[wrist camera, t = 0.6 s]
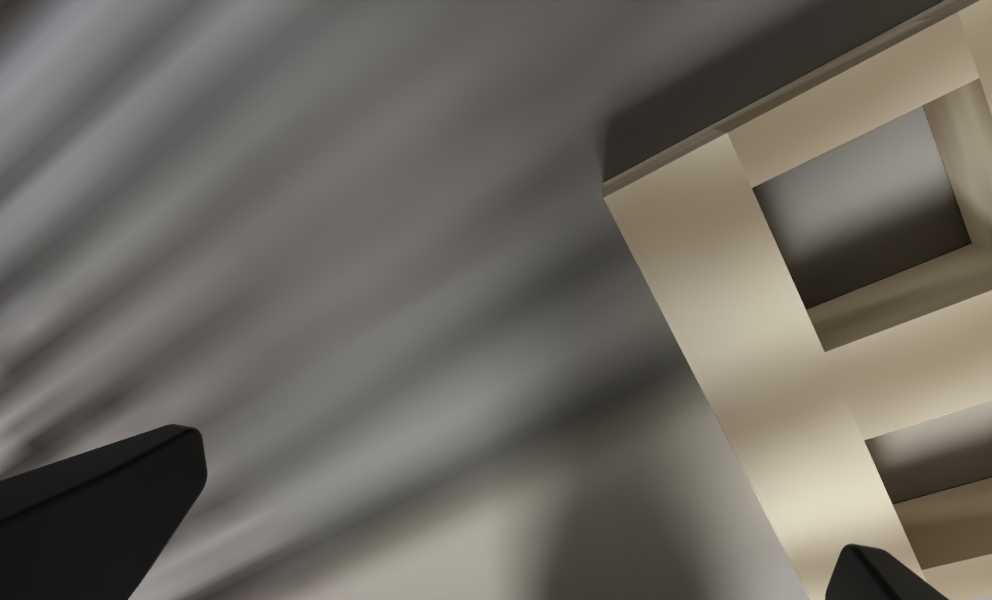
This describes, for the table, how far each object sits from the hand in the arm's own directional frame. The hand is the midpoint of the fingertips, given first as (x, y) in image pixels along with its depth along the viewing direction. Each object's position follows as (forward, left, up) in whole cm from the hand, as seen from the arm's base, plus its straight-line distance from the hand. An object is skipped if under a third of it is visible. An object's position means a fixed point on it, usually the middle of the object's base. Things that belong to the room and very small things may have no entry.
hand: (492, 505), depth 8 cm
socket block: (-7, -9, -13) cm, 18 cm away
